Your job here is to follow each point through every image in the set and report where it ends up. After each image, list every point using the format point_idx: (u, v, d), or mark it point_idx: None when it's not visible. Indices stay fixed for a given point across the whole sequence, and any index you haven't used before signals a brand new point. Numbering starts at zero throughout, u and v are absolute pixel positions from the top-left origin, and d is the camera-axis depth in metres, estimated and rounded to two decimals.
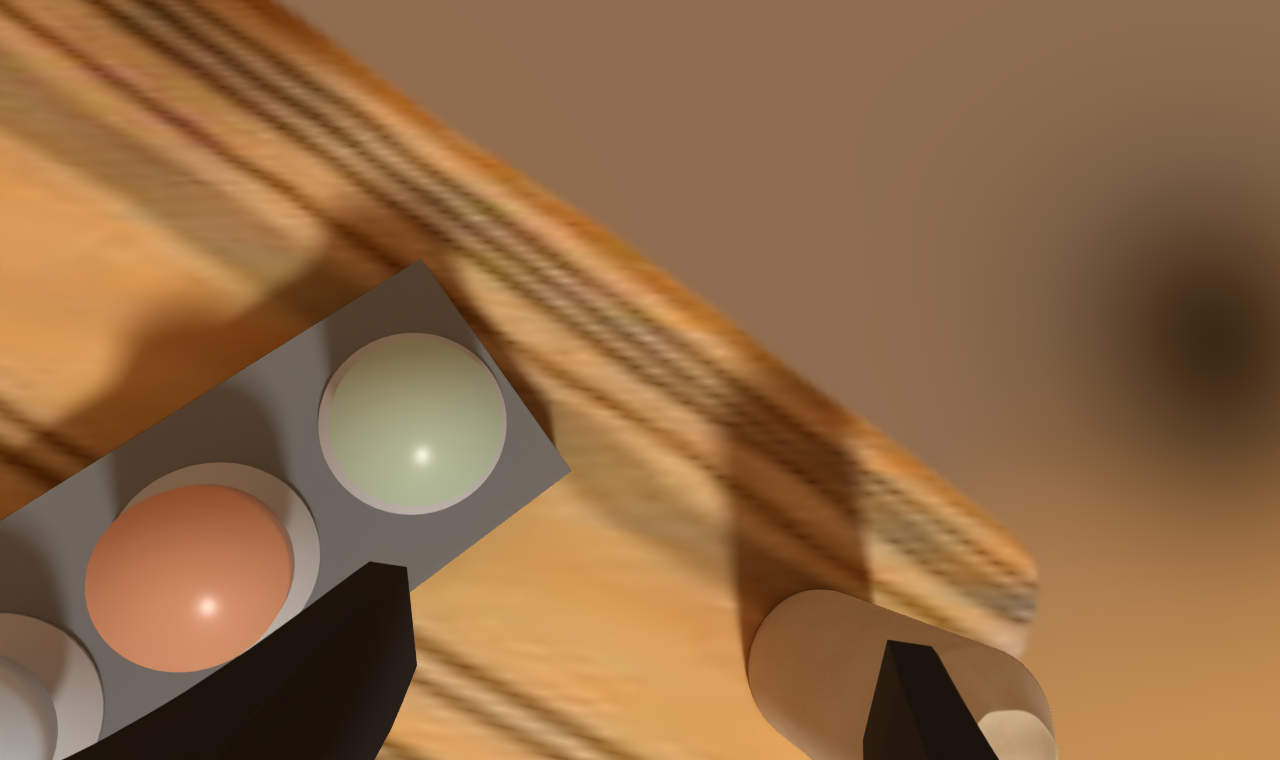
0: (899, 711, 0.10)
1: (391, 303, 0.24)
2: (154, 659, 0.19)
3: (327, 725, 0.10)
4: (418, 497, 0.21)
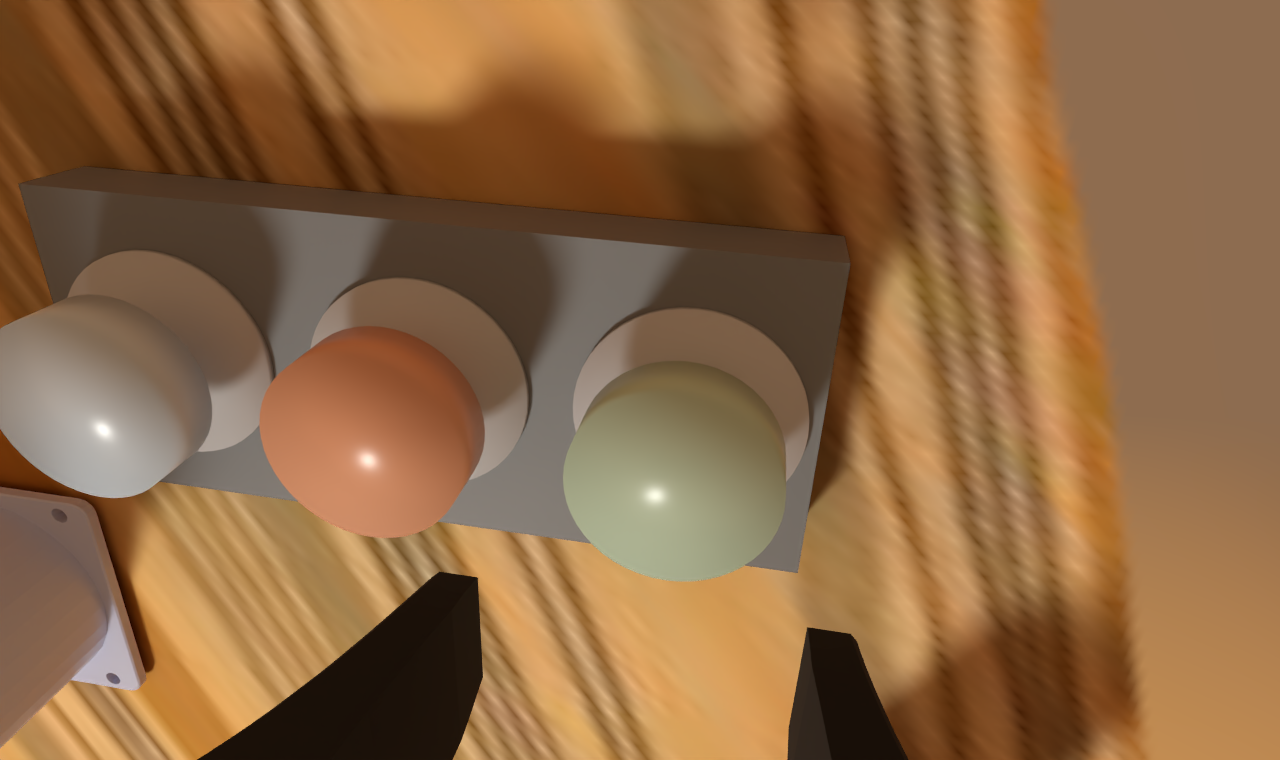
0: (810, 697, 0.10)
1: (772, 286, 0.17)
2: (292, 484, 0.17)
3: (409, 738, 0.10)
4: (613, 549, 0.17)
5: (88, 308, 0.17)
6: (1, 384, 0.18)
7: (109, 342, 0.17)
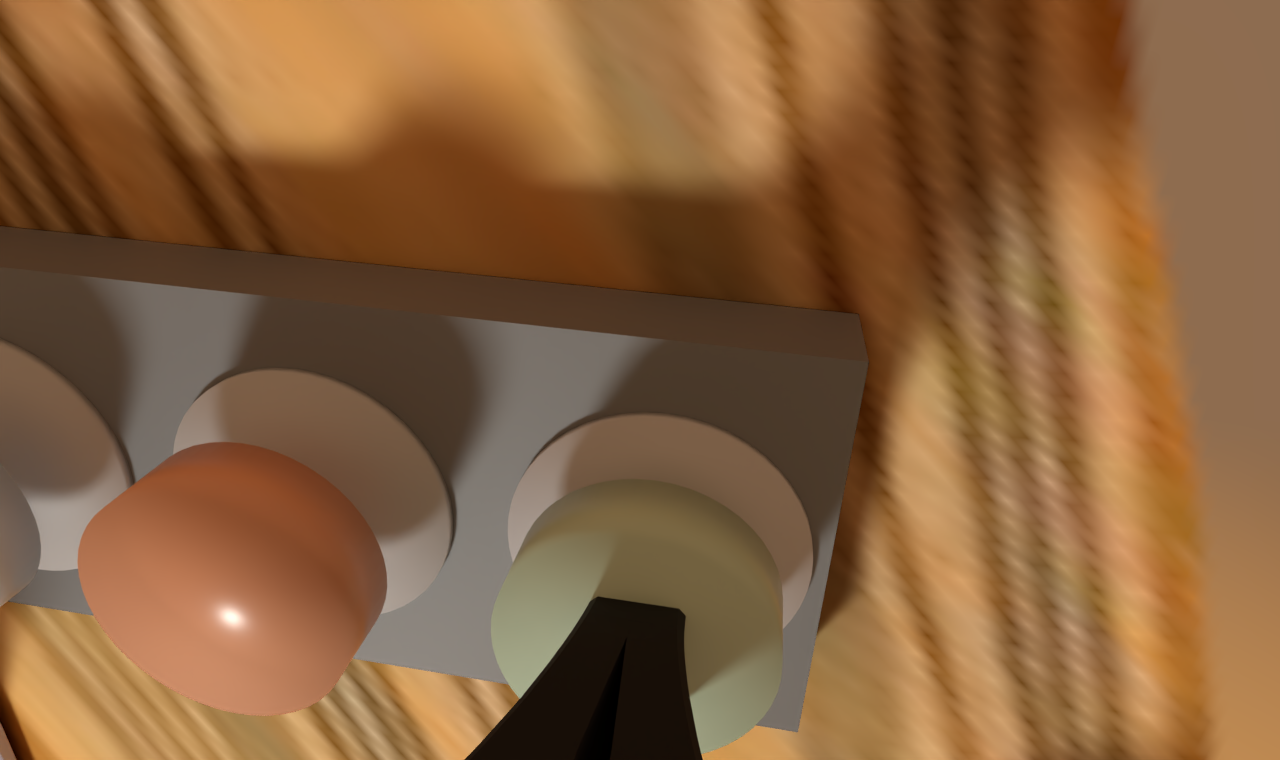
0: None
1: (764, 388, 0.13)
2: (130, 648, 0.13)
3: None
4: None
5: None
6: None
7: None
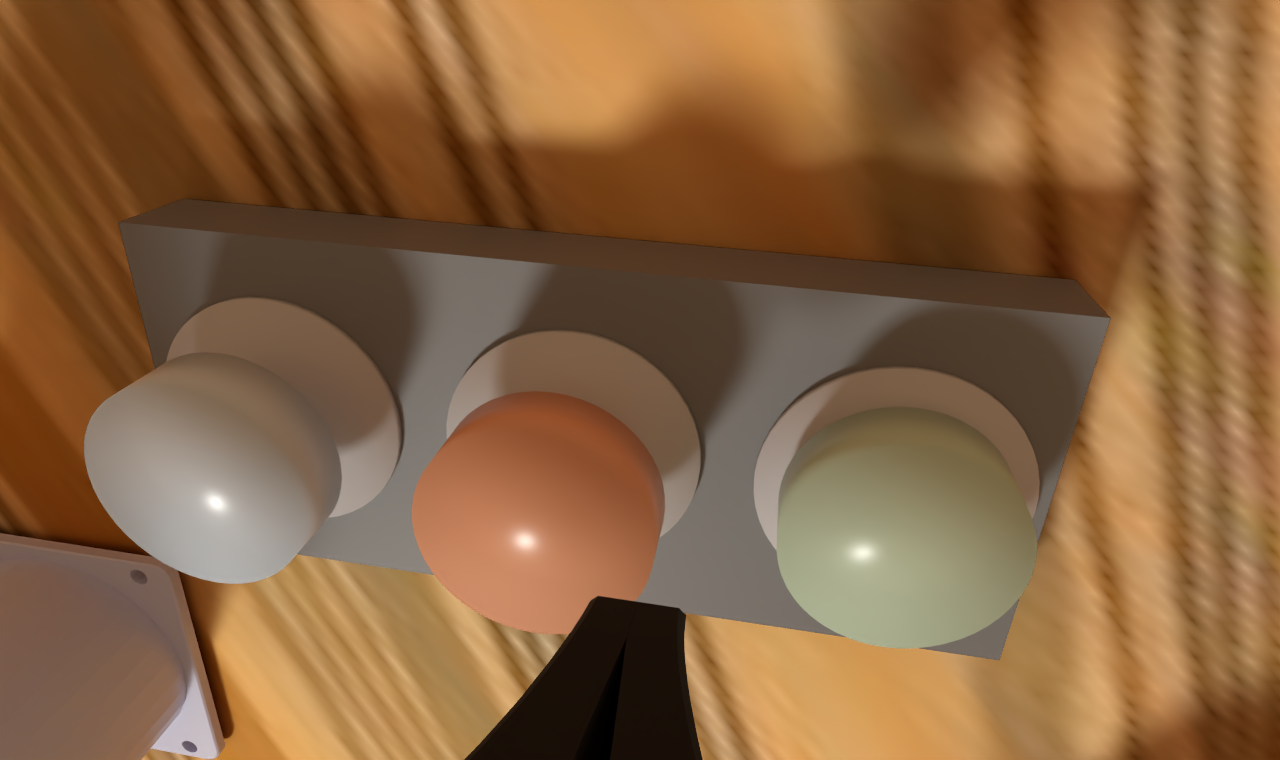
0: None
1: (1010, 343, 0.15)
2: (445, 573, 0.15)
3: None
4: (825, 613, 0.15)
5: (210, 371, 0.15)
6: (107, 457, 0.15)
7: (238, 413, 0.14)
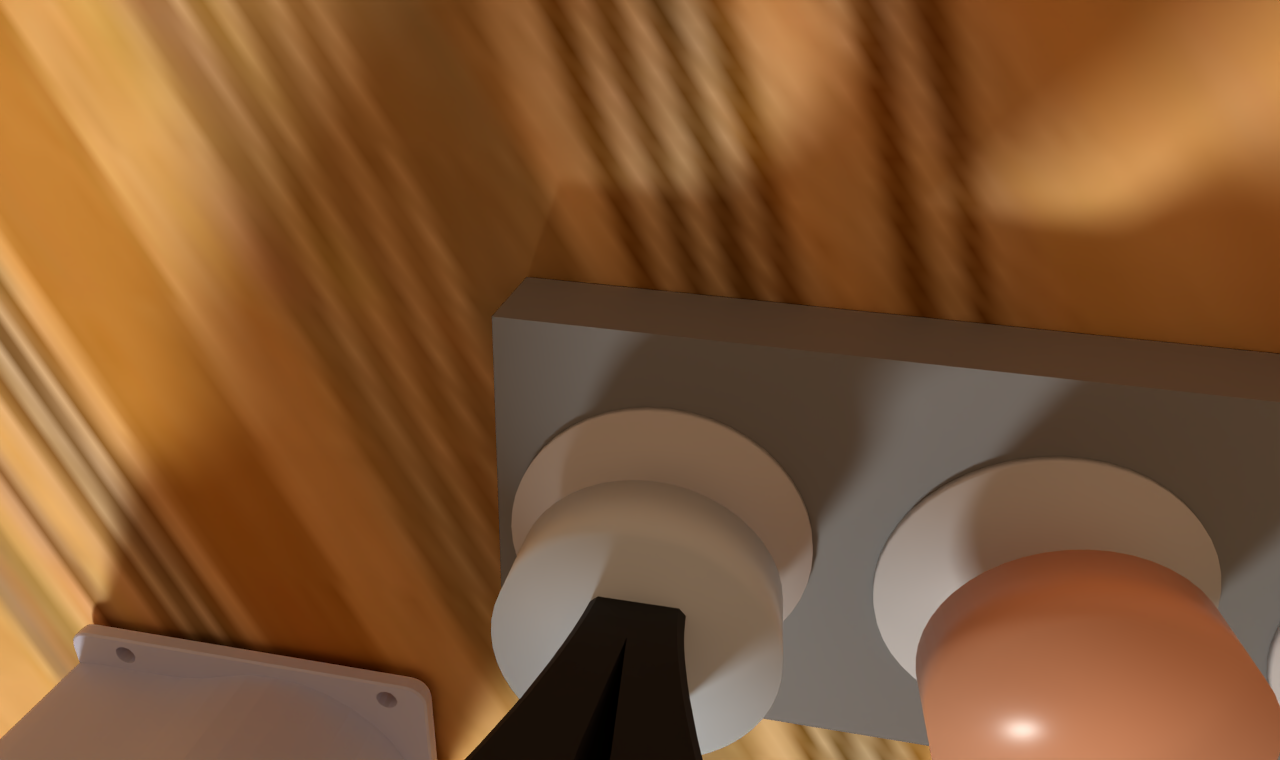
0: None
1: None
2: None
3: None
4: None
5: (669, 511, 0.12)
6: (524, 614, 0.12)
7: (724, 569, 0.11)
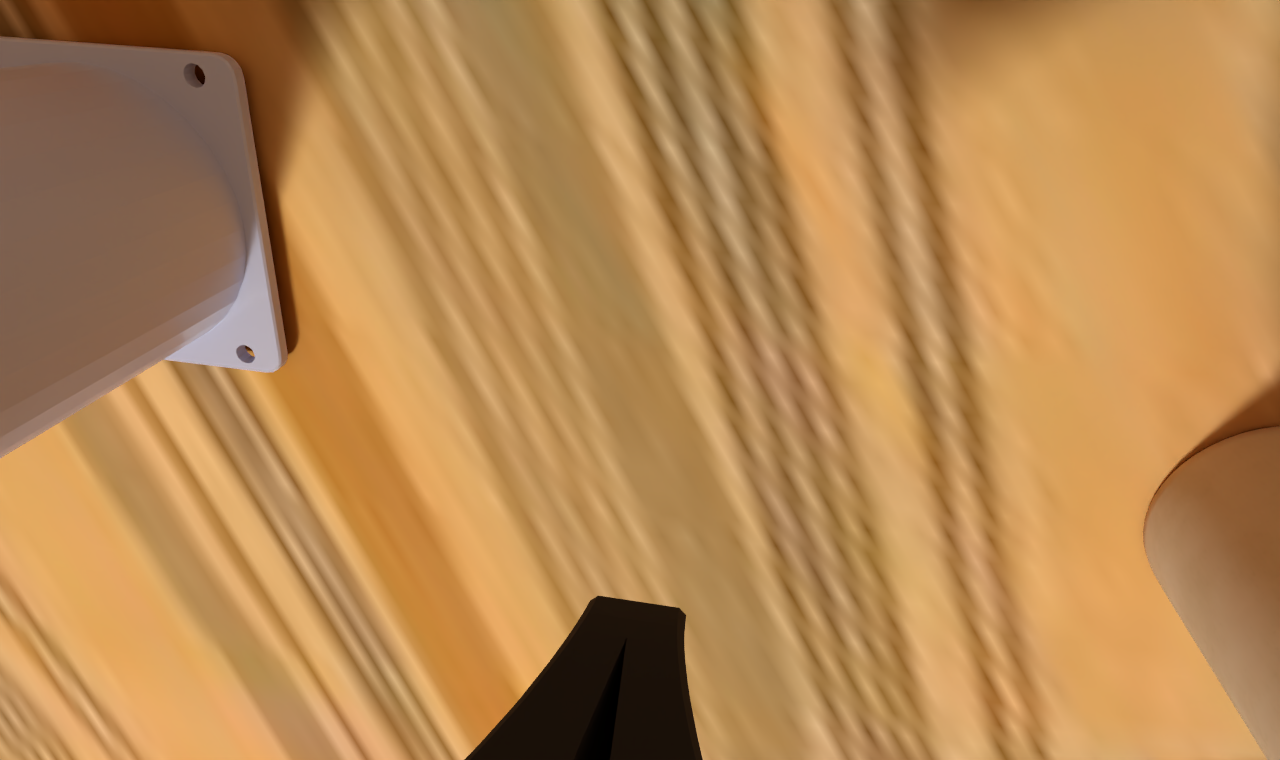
0: None
1: None
2: None
3: None
4: None
5: None
6: None
7: None
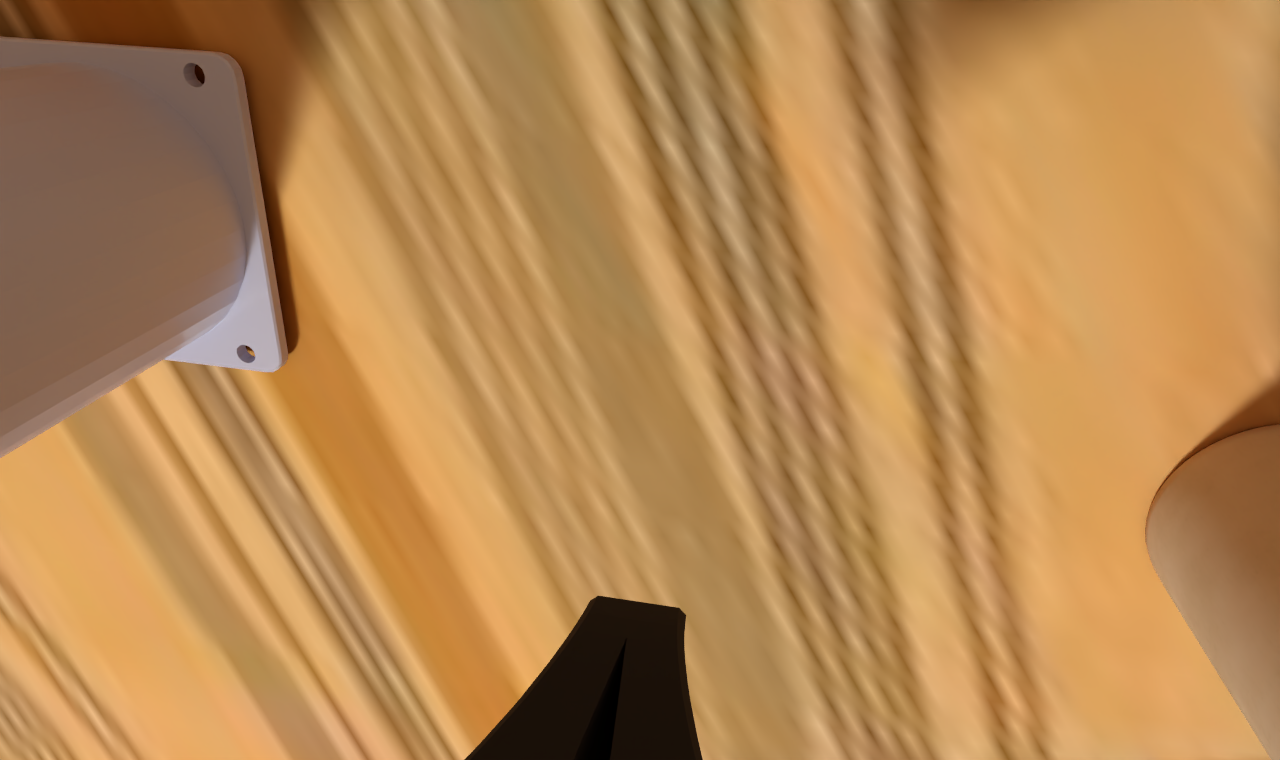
0: None
1: None
2: None
3: None
4: None
5: None
6: None
7: None
